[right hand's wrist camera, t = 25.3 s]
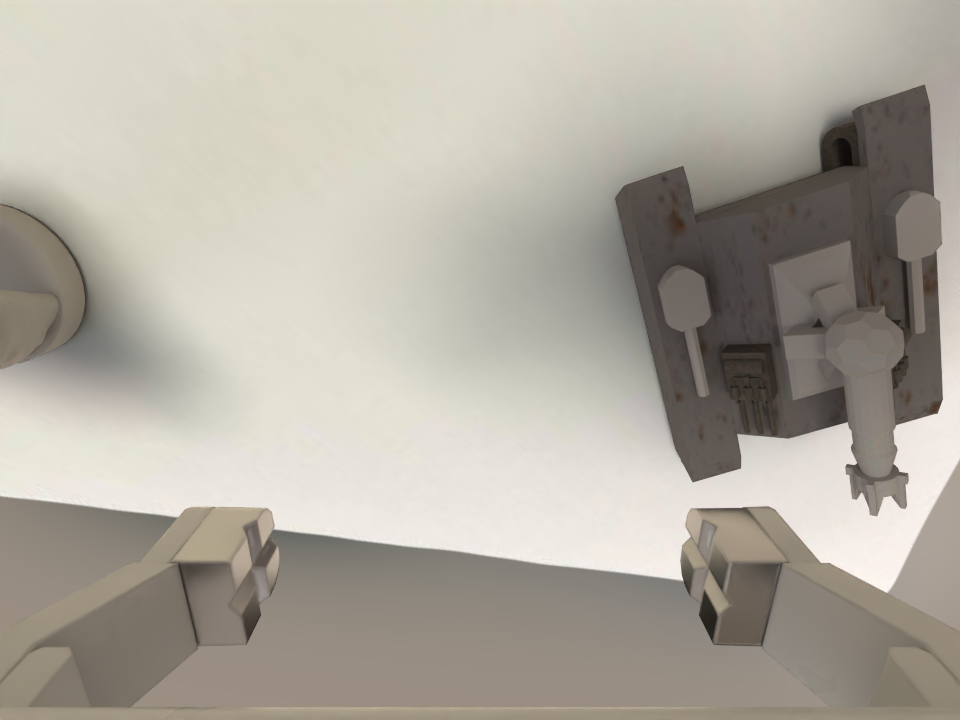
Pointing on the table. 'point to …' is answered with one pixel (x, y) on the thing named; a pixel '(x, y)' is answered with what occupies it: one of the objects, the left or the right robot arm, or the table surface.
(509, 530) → the table surface
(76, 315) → the bust sculpture
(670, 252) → the toy
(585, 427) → the table surface
